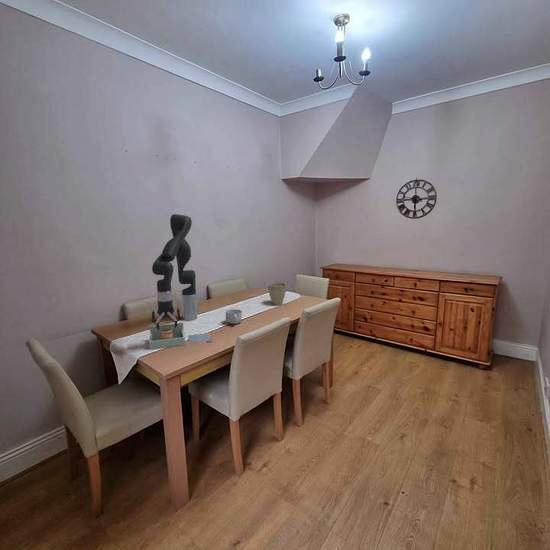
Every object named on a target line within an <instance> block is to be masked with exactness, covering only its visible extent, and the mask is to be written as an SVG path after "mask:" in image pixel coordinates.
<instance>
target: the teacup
mask: <svg viewBox="0 0 550 550" xmlns="http://www.w3.org/2000/svg"><path fill="white" fill-rule="evenodd" d="M224 313H225V321H226V322H227V323H228V324H231V325H236V324H239V323H240V322H242V320H243V319H242V318H243V311H242V310H241V309H238V308H237V309H236V308H230V309H226V310H225V312H224Z"/></svg>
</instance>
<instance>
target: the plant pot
mask: <svg viewBox="0 0 550 550" xmlns="http://www.w3.org/2000/svg"><path fill="white" fill-rule="evenodd" d="M267 289H268V293H269V297H270V300H271V303H272V305H274V306H281V305H282V304H283V303H284V300H285V295H286V293H287V292H286V290H287V283H286V282H285V283H284V282H270V283H268V284H267Z"/></svg>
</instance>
